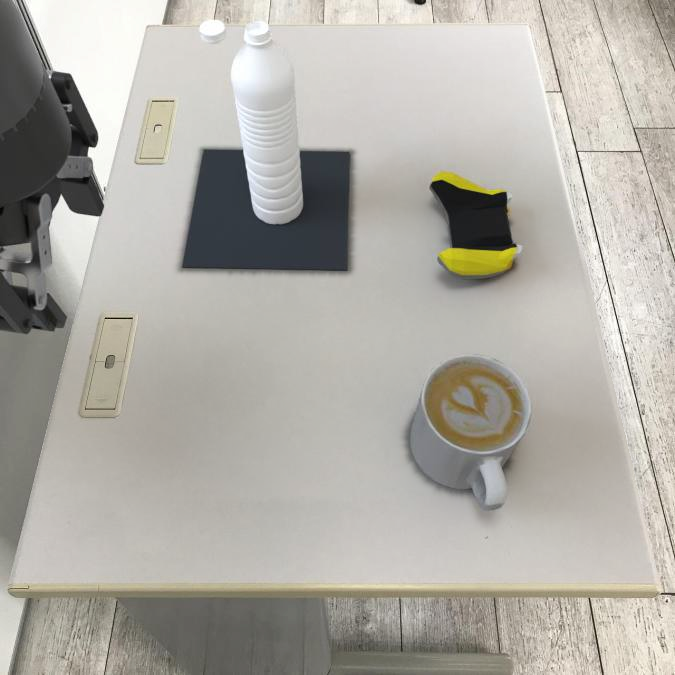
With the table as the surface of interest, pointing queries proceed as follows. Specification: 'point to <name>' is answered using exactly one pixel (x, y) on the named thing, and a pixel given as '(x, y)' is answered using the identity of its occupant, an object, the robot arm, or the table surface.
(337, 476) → the table surface
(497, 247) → the gaming controller
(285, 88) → the water bottle
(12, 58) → the robot arm
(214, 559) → the table surface
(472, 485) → the coffee mug
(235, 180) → the mat
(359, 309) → the table surface
